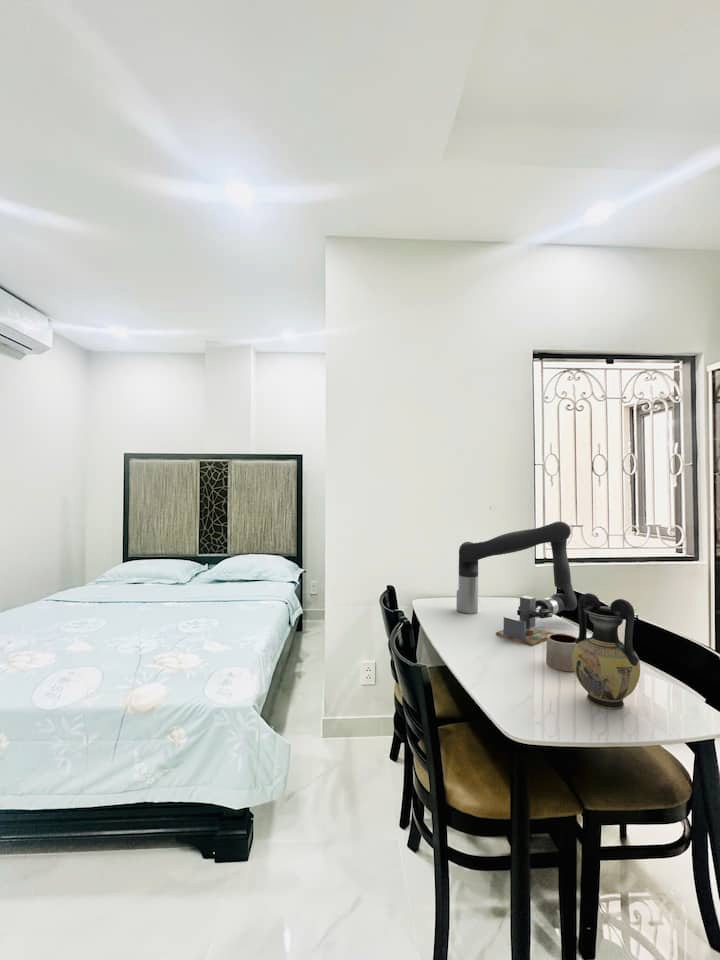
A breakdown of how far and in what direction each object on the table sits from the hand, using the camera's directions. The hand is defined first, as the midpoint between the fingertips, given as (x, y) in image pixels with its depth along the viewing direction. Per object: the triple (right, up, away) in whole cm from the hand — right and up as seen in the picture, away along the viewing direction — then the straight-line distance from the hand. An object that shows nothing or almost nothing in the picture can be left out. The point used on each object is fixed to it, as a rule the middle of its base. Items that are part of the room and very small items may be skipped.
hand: (524, 614), depth 187 cm
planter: (+2, -9, -30) cm, 32 cm away
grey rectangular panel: (-5, -8, -4) cm, 10 cm away
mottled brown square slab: (+1, -9, +1) cm, 9 cm away
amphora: (+3, -9, -56) cm, 57 cm away
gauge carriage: (0, -7, 0) cm, 8 cm away
